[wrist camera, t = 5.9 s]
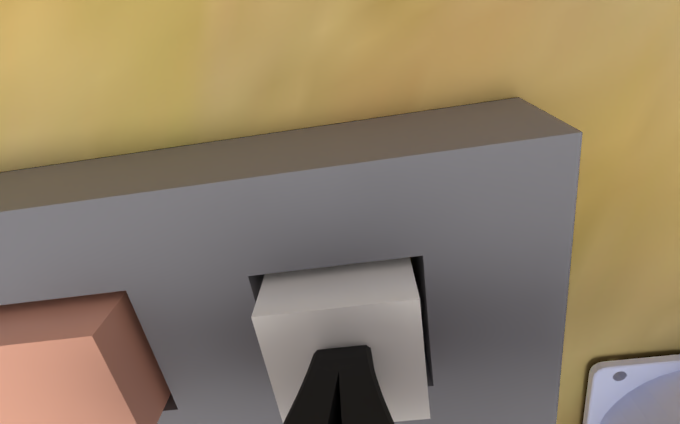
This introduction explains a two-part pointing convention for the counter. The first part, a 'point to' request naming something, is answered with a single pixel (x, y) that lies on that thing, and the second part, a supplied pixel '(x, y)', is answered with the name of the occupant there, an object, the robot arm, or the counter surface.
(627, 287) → the counter surface
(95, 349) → the terracotta key
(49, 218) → the key panel
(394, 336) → the white key
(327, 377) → the robot arm
